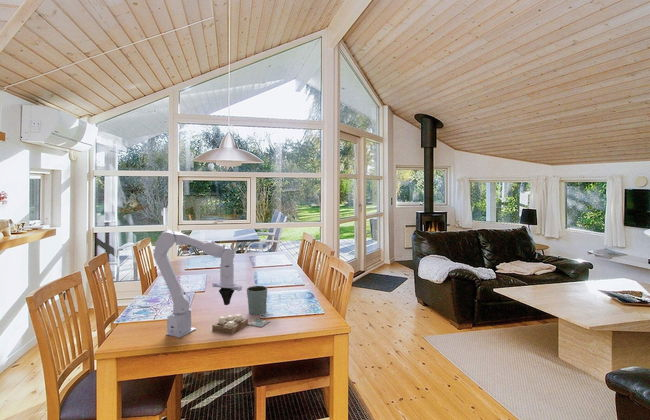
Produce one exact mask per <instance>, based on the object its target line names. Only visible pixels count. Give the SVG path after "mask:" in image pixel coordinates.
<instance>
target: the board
mask: <svg viewBox="0 0 650 420" xmlns="http://www.w3.org/2000/svg"><path fill="white" fill-rule="evenodd" d="M232 321H234V326H233V327H228V322H229V321H228V320H227V317H225V324H224V325H219V321H218V322H216V323H213V324H212V325H211V326H212V330H211V331H212V332H213V331H214V332H218V333H223V334H227V335H233V334H234V333H236V332H238V331H239V330H241V329H243V328H244V327H246V326H249V325H248V324H249V319H248V318H243V317H242V322H240V323H238V322H236V316H234V315H233V320H232Z"/></svg>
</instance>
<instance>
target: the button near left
mask: <svg viewBox="0 0 650 420" xmlns="http://www.w3.org/2000/svg"><path fill="white" fill-rule="evenodd" d="M225 318H226V316H218V322H219V325H224V324H225Z"/></svg>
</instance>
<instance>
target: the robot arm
mask: <svg viewBox="0 0 650 420" xmlns="http://www.w3.org/2000/svg"><path fill="white" fill-rule="evenodd" d="M174 244H175V246H178V245H182V244H183V245H187V246H191V247H193V248H194V247H195V248H197V249H200V250H202V252H203V254H206V255H208V256H210V257H211V256H212V257H214V258H217V259H220V264H219V269H220V270H219V271H220V272H219V273H220V275H219V277H220V279H219V281H214V282H212V288H220V289H219V290H218V293H219V295H221V298H222V300H223V305H224V306H228V305H230V303H231V299H232V297H233V294H234V292H235V291H237V292H241V291H243V289H242V288H243V286H242V285H239V284H237V283H235V281H234V276H235V275H234V272H235V271H234V270H235V269H234V267H235V265H234V258H235V253H234V250H233V249H232V248H231V247H229V246H227V245H225V244H220V243H216V241H215V240H207V241H203V240H201V239H198V238H195V237H193V236H190V235H187V234H186V233H182V232H179V231H173V230H171V229H166V230H163V231H162V232H161V233H160V234H159V236H158V238H157V239H156V241H155V246H154V250H153V254H152V255H153V258H154V260H155V262H156V263H155V264H156V265H157V267H158V270H159V271H160V273H161V276H162V278H163V280H164V283H165V285H166V286H167V289H168V291H169V293H170V296H171V301H172V303H173V305H172V306H173V307H172V308H173V309H172V313H171V315H169V316H168V317H167V319H166V331H167V332H166V333H165V335H167V336H172V337H175V338H182V337H184V336H186V335H187V334H190V333H191V332H193V331H196V329H197V328H196V327H192V308H191V307H190V302H191V297H190V296H189V294H187V293H186V291H185V290H184V288H183V287H182V285H181V283H180V281H179V278H178V277H177V274H176V272H175V269H174V268H173V265H172V263H171V262H170V259H169V256H168V252H169V250H170V249H171V248H172V247H173V246H174Z"/></svg>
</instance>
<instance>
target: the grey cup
mask: <svg viewBox="0 0 650 420" xmlns="http://www.w3.org/2000/svg"><path fill="white" fill-rule="evenodd" d="M246 297H247V306H248V314H249V315H252V316H261V315H260V314H262V315H264V314H266V313H265V312H267V306H268V305H267V303H268V302H267V300H268V299H267V298H268V287H267V286H265V285H253V286H250V287H247V288H246ZM263 313H264V314H263Z"/></svg>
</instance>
